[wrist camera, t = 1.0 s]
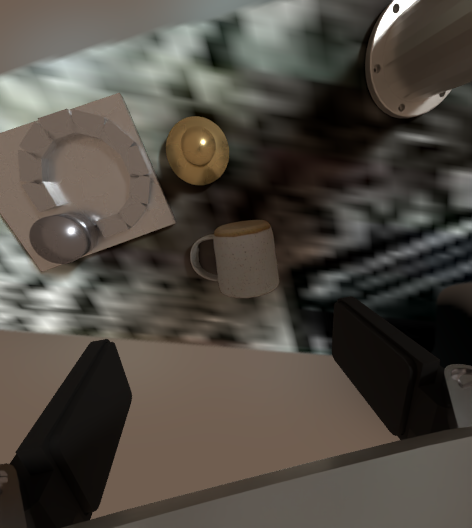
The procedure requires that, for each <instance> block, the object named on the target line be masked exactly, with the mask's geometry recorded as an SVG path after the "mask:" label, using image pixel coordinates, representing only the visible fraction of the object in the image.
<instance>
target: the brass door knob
mask: <svg viewBox="0 0 472 528" xmlns="http://www.w3.org/2000/svg"><path fill="white" fill-rule="evenodd" d="M166 155H167V159H168V162H169V164H170V166H171V168H172V170H173V171H174V172H175V174H176V175H177V176H178V177H179V178H181V179H182V180H184V181H185V182H187V183H190V184H193V185H206V184H210V183H212V182H214V181H215V180H217V179H218V178H219V177H220V176H221V175H222V174H223V172H224V171H225V169H226V167H227V164H228V160H229V147H228V143H227V140H226V137H225V135H224V133H223V132H222V131H221V129H220V128H219V127H218V126H217V125H216V124H215V123H213V122H212V121H210V120H208V119H206V118H203V117H195V116H194V117H188V118H185V119H183V120H181V121H179V122H178V123H177V124H176V125H175V126H174V127H173V128H172V129H171V131H170V133H169V135H168V138H167V142H166Z"/></svg>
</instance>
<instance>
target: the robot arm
mask: <svg viewBox="0 0 472 528" xmlns="http://www.w3.org/2000/svg"><path fill="white" fill-rule="evenodd" d="M365 73H366V81H367V85H368V89H369V92H370V94H371V96H372V99H373V100H374V102H375V103H376V105H377V106H378V107H379V108H380V109H381V110H382V111H383V112H384V113H386V114H388V115H390V116H392V117H396V118H411V117H415V116H418V115H421V114H424V113H426V112H428V111H430V110H431V109H433V108H435V107H436V106H437V105H438V104H439V103H441V102H442V101H443V100H444V99H445V97H446V96H447V95H448V94H449V93H450V91H451V90H452V89H453V88H456V87H459V86H461V85H464V84H467V83H469V82H472V0H392V1H391V2H390V3H389V4H388V5H387V7H386V8H385V9H384V11H383V12H382V13H381V15H380V16H379V18H378V20H377V22H376V24H375V25H374V27H373V30H372V33H371V35H370V38H369V42H368V46H367V51H366V59H365ZM332 355H333V358H334V360H335V361H336V362H337V364H338V365H339V366H340V368H341V369H342V370H343V372H344V373H345V374H346V375H347V377H348V378H349V379H350V380H351V382H352V383H353V384H354V386H355V387H356V388H357V390H358V391H359V392H360V393H361V395H362V396H363V397H364V398H365V400H366V401H367V403H368V404H369V405H370V406H371V408H372V409H373V410H374V412H375V413H376V414H377V416H378V417H379V418H380V419H381V421H382V422H383V423H384V425H385V426H386V427H387V428H388V430H389V431H390V432H391V433H392V434H393V435H395V436H398V437H399V438H400V441H396V442H392V443H387V444H383V445H379V446H375V447H371V448H367V449H363V450H359V451H355V452H351V453H347V454H343V455H339V456H334V457H330V458H327V459H322V460H318V461H314V462H311V463H306V464H302V465H299V466H295V467H291V468H287V469H283V470H279V471H275V472H271V473H267V474H263V475H259V476H255V477H251V478H247V479H243V480H239V481H236V482H232V483H227V484H224V485H220V486H216V487H212V488H208V489H204V490H201V491H197V492H193V493H189V494H185V495H181V496H177V497H173V498H170V499H166V500H162V501H158V502H154V503H150V504H147V505H143V506H139V507H135V508H132V509H127V510H124V511H120V512H116V513H113V514H109V515H106V516H103V517H99V518H96V519H92V520H90V518H91V515H92V512H94V511H96V510H97V509H98V507H99V505H100V502H101V498H102V495H103V492H104V489H105V486H106V482H107V479H108V476H109V472H110V469H111V466H112V463H113V460H114V456H115V453H116V450H117V447H118V443H119V440H120V437H121V434H122V430H123V427H124V424H125V421H126V417H127V414H128V411H129V408H130V404H131V399H132V393H131V390H130V387H129V384H128V381H127V378H126V375H125V372H124V369H123V366H122V363H121V360H120V357H119V354H118V352H117V349H116V346H115V343H113V342H110V341H109V340H108V339H105V340H99V341H93V342H91V343H90V344H89V345H88V347H87V348H86V350H85V351H84V352H83V354H82V355H81V357H80V358H79V360H78V361H77V363H76V364H75V366H74V367H73V369H72V370H71V372H70V373H69V374H68V376H67V377H66V379H65V380H64V382H63V383H62V385H61V386H60V388H59V389H58V391H57V392H56V394H55V395H54V396H53V398H52V400H51V401H50V402H49V404H48V405H47V407H46V408H45V410H44V411H43V413H42V414H41V416H40V417H39V419H38V420H37V422H36V423H35V424H34V426H33V427H32V429H31V430H30V432H29V433H28V435H27V436H26V438H25V439H24V440H23V442H22V443H21V445H20V446H19V448H18V450H17V451H16V455H15V457H14V458H13V460H12V461H11V463H10V464H7V463H6V464H0V528H472V366H467V365H462V364H457V365H456V364H454V365H450V366H447V367H446V369H444V368H443V367H441V366H440V365H439V363H440V360H439V359H438V358H437V357H435V356H434V355H432V354H431V353H430V352H428V351H427V350H426V349H424V348H423V347H421V346H420V345H419V344H417V343H416V342H415V341H413V340H412V339H410V338H409V337H408V336H406V335H405V334H404V333H402V332H401V331H399V330H398V329H397V328H395V327H394V326H393V325H391V324H390V323H388V322H387V321H386V320H384V319H383V318H382V317H380V316H379V315H378V314H376V313H375V312H373V311H372V310H371V309H369V308H368V307H367V306H365V305H364V304H362V303H361V302H360V301H358V300H357V299H356V298H354V297H346V298H340V299H338V301H337V302H336V303H335V304H334V319H333V339H332Z"/></svg>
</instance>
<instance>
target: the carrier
mask: <svg viewBox="0 0 472 528" xmlns="http://www.w3.org/2000/svg"><path fill="white" fill-rule="evenodd" d="M0 213H1V215H2V216H3V218H4V219H5V220H6V222H7V223H8V225H9V226H10V228H11V229H12V230H13V232H14V233H15V235H16V236H17V237H18V239H19V240H20V242H21V243H22V245H23V246H24V247H25V249H26V250H27V252H28V253H29V255H30V256H31V257H32V259H33V260H34V262H35V263H36V264H37V266H38V267H39V269H40V270H41V272H43V271H45V270H48V269H51V268H54V267H56V266H59V265H62V264H68V263H71V262H74V261H75V260H77V259H79V258H81V257H84V256H87V255H89V254H92V253H95V252H98V251H100V250H103V249H106V248H109V247H111V246H114V245H117V244H120V243H122V242H125V241H128V240H131V239H133V238H136V237H139V236H142V235H144V234H147V233H150V232H153V231H155V230H158V229H161V228H164V227H166V226H169V225H172V224H175V223H176V219H175V217H174V215H173V212H172V210H171V208H170V205H169V203H168V201H167V198H166V196H165V194H164V191H163V189H162V187H161V184H160V182H159V180H158V177H157V175H156V173H155V170H154V168H153V166H152V163H151V161H150V159H149V157H148V154H147V152H146V150H145V147H144V145H143V143H142V140H141V138H140V136H139V133H138V131H137V129H136V126H135V124H134V122H133V119H132V117H131V115H130V112H129V110H128V108H127V105H126V103H125V101H124V98H123V97H122V95H121V94H120V93H118V94H115V95H112V96H109V97H106V98H103V99H100V100H97V101H94V102H91V103H88V104H85V105H82V106H79V107H76V108H73V109H70V110H68V109H65V110H62V111H59V112H56V113H53V114H50V115H47V116H44V117H41V118H38V121H34V122H32V123H29V124H26V125H23V126H20V127H17V128H14V129H11V130H8V131H5V132H2V133H0Z"/></svg>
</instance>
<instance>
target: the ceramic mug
mask: <svg viewBox="0 0 472 528" xmlns="http://www.w3.org/2000/svg"><path fill="white" fill-rule="evenodd" d="M210 239H213V240H214V241H213V242H214V251H215V256H216V265H217V274H218V275H215V274H211V273H208V272H206V271H205V270H204V269H203V268H202V267H201V265H200V264H199V256H198V254H199V248H198V246H199V244H200V243H201V242H202V241H205V240H210ZM190 260H191V264H192V267H193V269H194V270H195V271H196V273H198V274H199V275H200V276H202V277H203V278H206V279H208V280H212V281H218V282H219V289H220V291H221V293H223V294H224V295H226V296H230V297H234V298H251V297H258V296H261V295H264V294H267V293H270V292H272V291H273V290H274V289H276V288H277V286H278V284H279V276H278V268H277V259H276V253H275V243H274V236H273V232H272V228H271V226H270V224H269V223H268V222H267V221H264V220H248V221H239V222H234V223H229V224H225V225H222V226H220V227H218V228H217V229H216V230H215V232H214V234H211V235H207V236H204V237H202V238H200V239H199V240H197V241H196V242H195V243H194V244H193V246H192V248H191V252H190Z"/></svg>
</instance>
